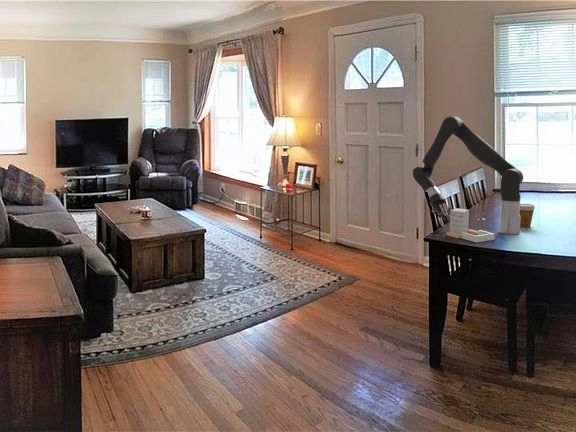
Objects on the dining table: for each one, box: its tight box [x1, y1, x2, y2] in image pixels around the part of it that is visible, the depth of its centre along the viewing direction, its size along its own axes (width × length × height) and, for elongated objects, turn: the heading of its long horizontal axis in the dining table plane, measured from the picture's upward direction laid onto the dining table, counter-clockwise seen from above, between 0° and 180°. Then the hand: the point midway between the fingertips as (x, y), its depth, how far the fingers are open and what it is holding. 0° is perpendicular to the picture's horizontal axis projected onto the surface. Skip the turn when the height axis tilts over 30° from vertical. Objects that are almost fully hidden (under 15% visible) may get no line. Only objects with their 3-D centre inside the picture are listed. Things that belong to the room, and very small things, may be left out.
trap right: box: [468, 228, 478, 236], centre depth 286 cm, size 8×3×2 cm, turn 26°
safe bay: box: [461, 229, 496, 243], centre depth 275 cm, size 10×12×3 cm
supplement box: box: [449, 208, 470, 235], centre depth 286 cm, size 7×7×13 cm
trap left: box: [446, 231, 463, 239], centre depth 281 cm, size 8×3×2 cm, turn 25°
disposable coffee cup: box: [519, 203, 536, 229], centre depth 301 cm, size 10×10×12 cm
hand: (448, 222), depth 294 cm, fingers closed
